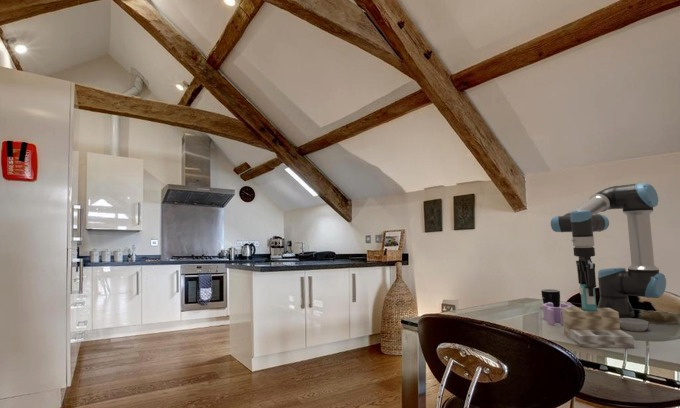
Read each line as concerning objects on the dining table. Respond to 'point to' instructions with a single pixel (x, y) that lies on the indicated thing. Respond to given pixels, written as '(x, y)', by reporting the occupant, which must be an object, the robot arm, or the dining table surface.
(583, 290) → the plug
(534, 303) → the dining table surface
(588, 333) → the socket block
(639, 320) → the saucepan
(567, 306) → the clip
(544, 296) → the mug
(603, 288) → the robot arm
